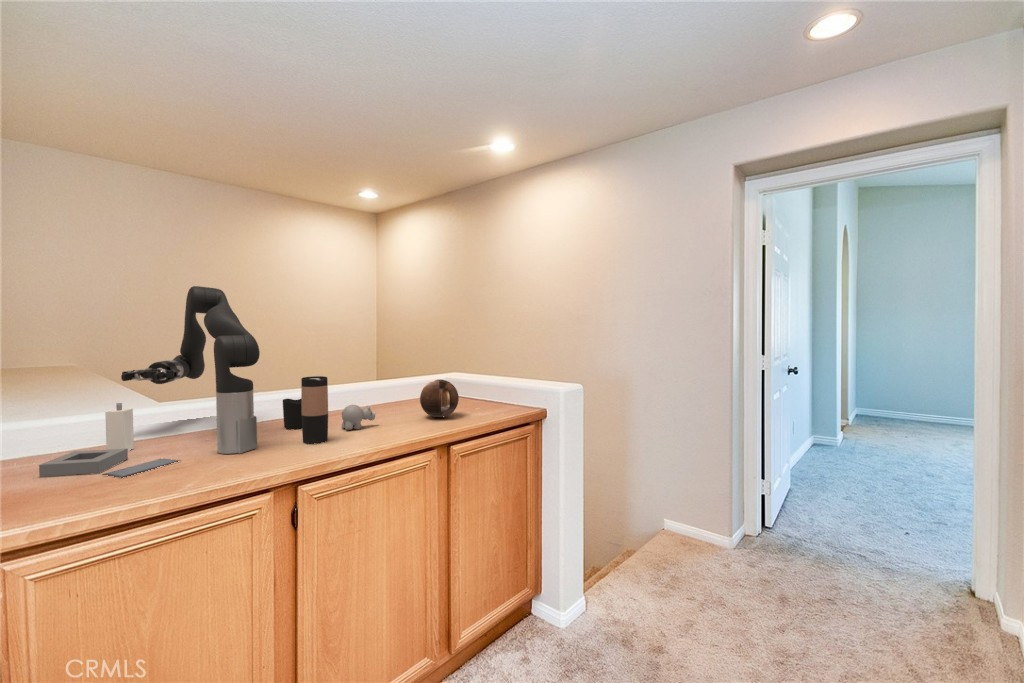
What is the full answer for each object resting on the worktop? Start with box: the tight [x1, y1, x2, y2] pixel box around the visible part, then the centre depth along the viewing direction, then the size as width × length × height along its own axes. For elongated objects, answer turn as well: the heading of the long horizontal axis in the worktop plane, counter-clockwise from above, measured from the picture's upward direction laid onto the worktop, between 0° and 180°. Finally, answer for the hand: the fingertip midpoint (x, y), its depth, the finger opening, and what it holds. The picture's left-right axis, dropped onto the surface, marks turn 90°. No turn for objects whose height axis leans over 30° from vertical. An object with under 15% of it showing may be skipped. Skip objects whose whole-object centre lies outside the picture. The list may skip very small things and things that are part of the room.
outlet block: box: [38, 449, 129, 478], centre depth 116 cm, size 12×12×3 cm
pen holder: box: [282, 398, 302, 430], centre depth 163 cm, size 9×9×10 cm
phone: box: [101, 458, 182, 479], centre depth 116 cm, size 7×14×1 cm, turn 163°
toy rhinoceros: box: [341, 404, 377, 431], centre depth 161 cm, size 7×12×8 cm, turn 126°
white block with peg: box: [104, 402, 135, 452], centre depth 130 cm, size 4×4×14 cm
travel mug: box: [300, 375, 329, 445], centre depth 142 cm, size 8×8×20 cm
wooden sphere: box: [419, 379, 460, 418], centre depth 180 cm, size 15×15×15 cm
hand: (139, 377), depth 141 cm, fingers open, 8 cm apart
